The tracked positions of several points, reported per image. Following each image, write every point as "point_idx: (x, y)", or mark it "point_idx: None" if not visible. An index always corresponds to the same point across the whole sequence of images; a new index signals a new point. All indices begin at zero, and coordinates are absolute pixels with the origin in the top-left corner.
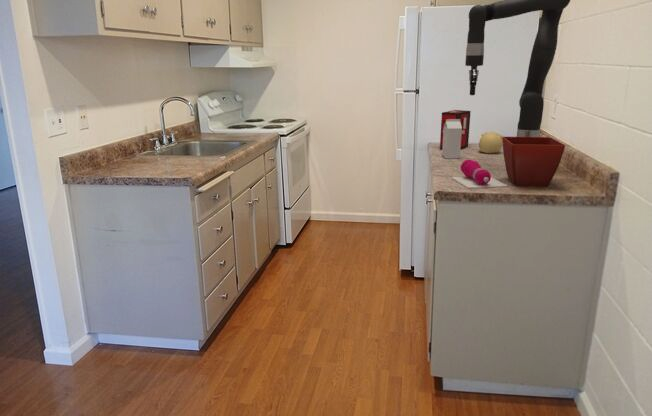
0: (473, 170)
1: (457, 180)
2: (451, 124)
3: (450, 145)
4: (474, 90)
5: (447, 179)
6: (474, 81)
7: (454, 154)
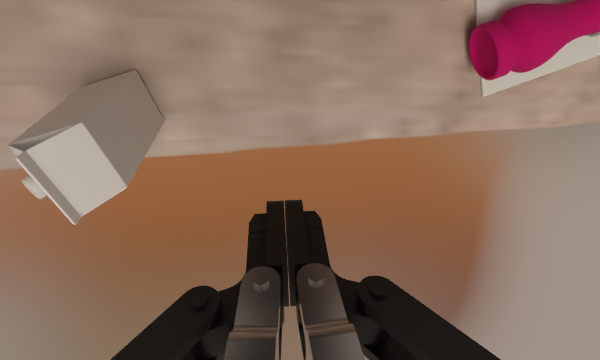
0: (578, 37)
1: (531, 77)
2: (86, 183)
3: (142, 130)
4: (306, 235)
5: (497, 104)
6: (182, 337)
7: (143, 97)
